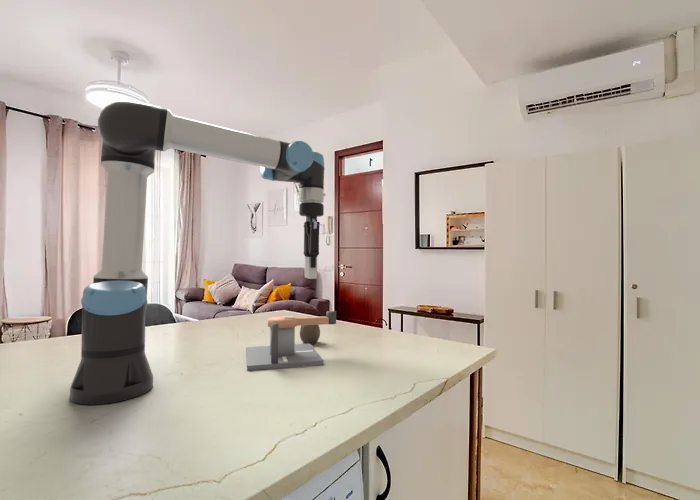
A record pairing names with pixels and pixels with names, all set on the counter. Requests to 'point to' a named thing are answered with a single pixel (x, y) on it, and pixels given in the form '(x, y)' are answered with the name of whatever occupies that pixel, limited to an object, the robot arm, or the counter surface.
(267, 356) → the post base
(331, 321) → the wooden cross piece
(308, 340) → the vase
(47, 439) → the counter surface
